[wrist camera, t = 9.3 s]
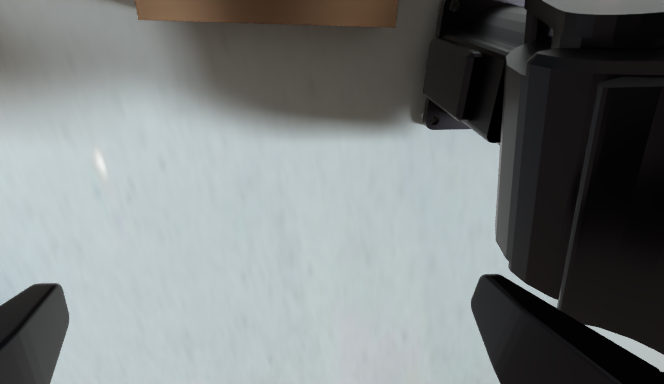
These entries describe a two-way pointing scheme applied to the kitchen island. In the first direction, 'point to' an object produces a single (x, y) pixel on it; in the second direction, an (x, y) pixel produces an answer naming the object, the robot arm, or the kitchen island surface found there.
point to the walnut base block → (274, 11)
